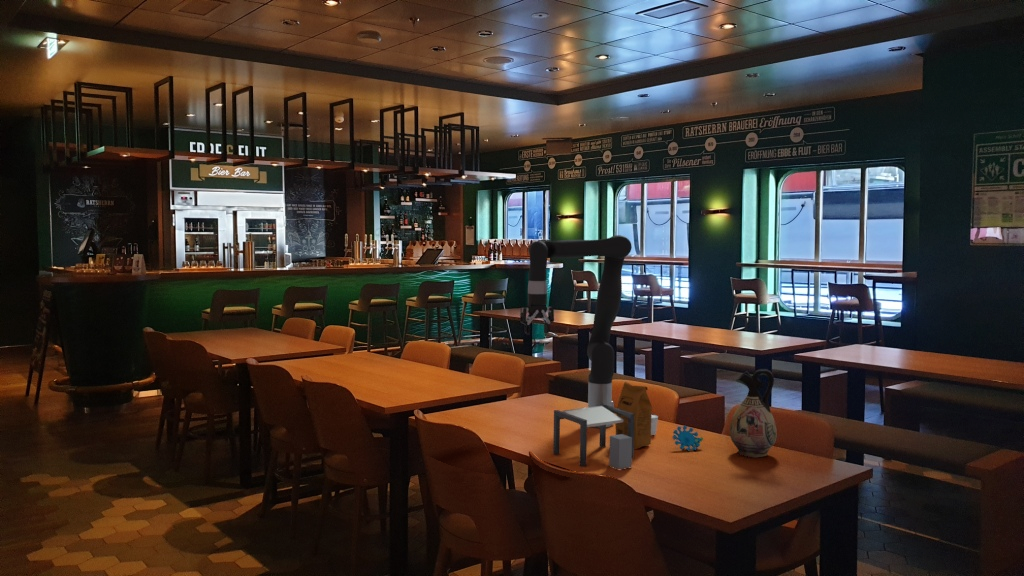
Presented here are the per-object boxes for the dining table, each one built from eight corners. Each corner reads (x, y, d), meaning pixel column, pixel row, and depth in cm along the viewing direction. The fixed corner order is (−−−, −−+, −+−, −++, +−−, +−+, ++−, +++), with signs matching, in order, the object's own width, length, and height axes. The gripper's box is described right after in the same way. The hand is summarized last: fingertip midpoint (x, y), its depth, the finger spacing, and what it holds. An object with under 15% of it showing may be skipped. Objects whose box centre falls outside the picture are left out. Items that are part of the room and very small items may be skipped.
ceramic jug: (726, 457, 260) (729, 369, 258) (731, 446, 274) (733, 362, 272) (780, 463, 253) (782, 373, 252) (782, 451, 268) (784, 366, 266)
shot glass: (659, 433, 292) (660, 415, 291) (655, 437, 286) (655, 418, 285) (641, 431, 295) (642, 413, 294) (637, 435, 289) (637, 416, 288)
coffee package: (631, 439, 283) (632, 379, 281) (654, 446, 272) (656, 385, 271) (610, 442, 278) (611, 382, 276) (633, 450, 267) (634, 388, 266)
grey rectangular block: (631, 437, 246) (631, 468, 246) (622, 434, 250) (621, 464, 251) (619, 439, 243) (618, 470, 244) (609, 435, 248) (609, 466, 248)
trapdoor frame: (602, 446, 273) (603, 404, 272) (633, 458, 258) (634, 413, 257) (553, 453, 262) (553, 410, 261) (582, 466, 247) (583, 420, 247)
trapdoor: (600, 408, 269) (601, 405, 269) (623, 422, 258) (623, 419, 258) (562, 413, 261) (563, 409, 261) (584, 428, 250) (584, 424, 250)
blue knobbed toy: (675, 447, 265) (672, 422, 272) (669, 456, 270) (666, 431, 276) (706, 451, 266) (702, 426, 273) (700, 460, 271) (696, 435, 277)
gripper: (526, 293, 293) (526, 335, 294) (558, 292, 300) (557, 334, 301) (516, 292, 299) (516, 333, 300) (547, 291, 306) (547, 331, 307)
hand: (537, 333), depth 300 cm, fingers open, 8 cm apart
